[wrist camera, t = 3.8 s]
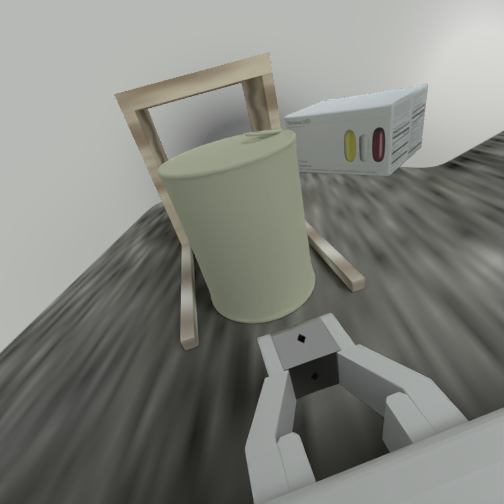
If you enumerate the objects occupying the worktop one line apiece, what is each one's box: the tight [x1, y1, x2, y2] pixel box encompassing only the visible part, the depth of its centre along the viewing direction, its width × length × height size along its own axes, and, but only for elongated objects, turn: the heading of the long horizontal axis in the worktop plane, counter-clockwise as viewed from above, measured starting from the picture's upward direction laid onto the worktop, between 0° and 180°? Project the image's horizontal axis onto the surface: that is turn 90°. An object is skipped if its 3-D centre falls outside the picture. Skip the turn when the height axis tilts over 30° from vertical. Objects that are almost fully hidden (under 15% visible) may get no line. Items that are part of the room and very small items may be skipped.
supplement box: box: [284, 84, 428, 176], centre depth 42 cm, size 17×13×9 cm
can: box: [157, 129, 315, 324], centre depth 20 cm, size 9×9×12 cm
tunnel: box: [115, 53, 365, 351], centre depth 25 cm, size 24×14×16 cm, turn 13°
